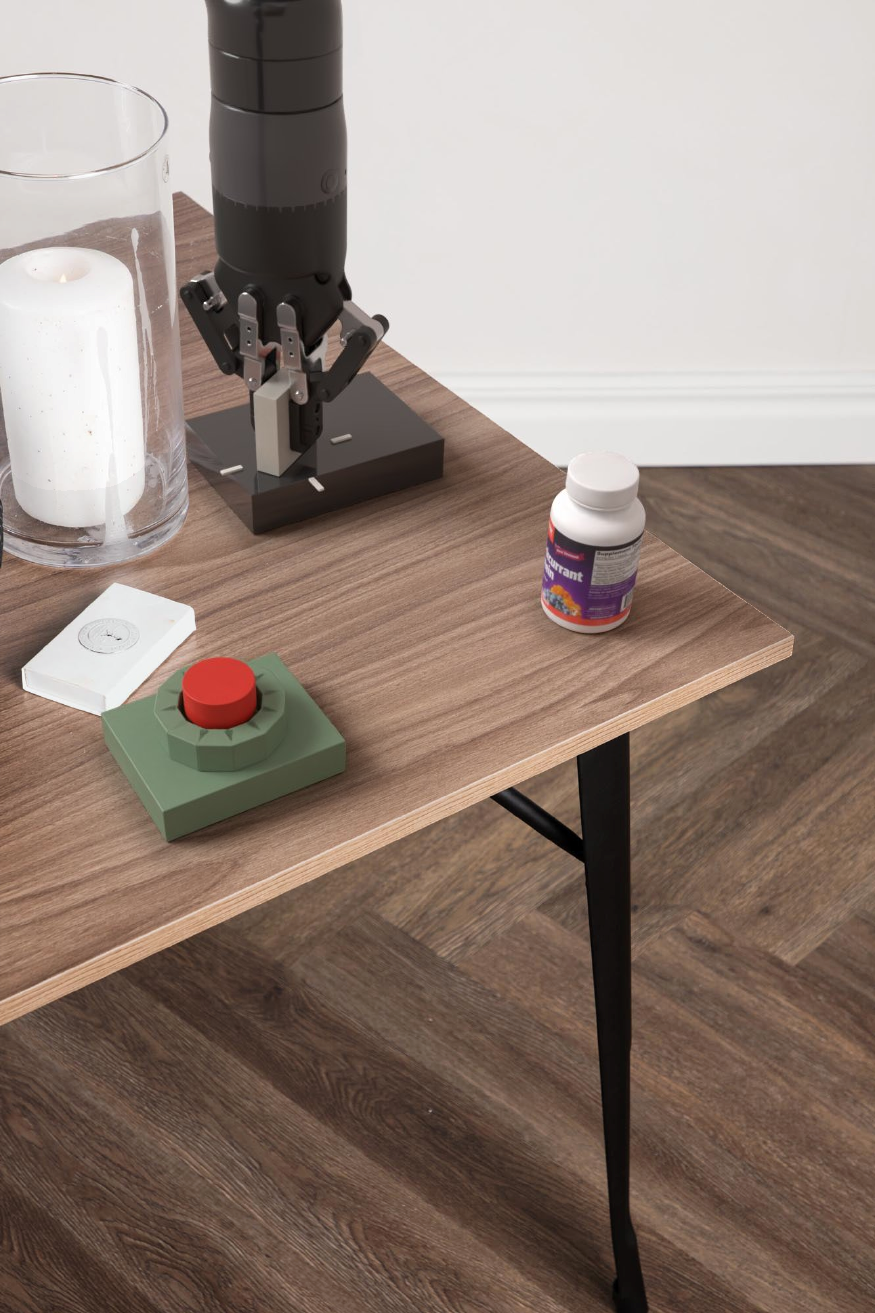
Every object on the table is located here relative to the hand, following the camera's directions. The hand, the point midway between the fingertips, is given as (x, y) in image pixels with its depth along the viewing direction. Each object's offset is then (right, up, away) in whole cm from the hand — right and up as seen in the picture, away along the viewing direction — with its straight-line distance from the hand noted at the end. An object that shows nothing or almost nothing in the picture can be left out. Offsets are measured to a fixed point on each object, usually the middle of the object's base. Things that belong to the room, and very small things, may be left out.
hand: (286, 440), depth 90 cm
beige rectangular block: (0, -1, +1) cm, 1 cm away
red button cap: (-1, -16, -18) cm, 24 cm away
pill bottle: (+18, -11, -5) cm, 22 cm away
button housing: (-2, -19, -16) cm, 25 cm away
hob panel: (+1, -1, +5) cm, 5 cm away
